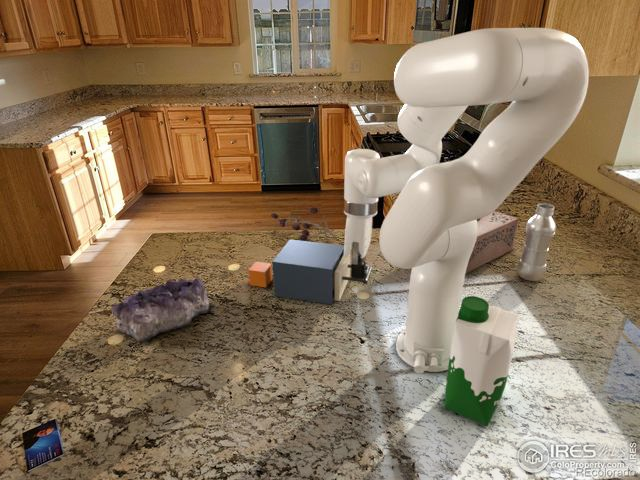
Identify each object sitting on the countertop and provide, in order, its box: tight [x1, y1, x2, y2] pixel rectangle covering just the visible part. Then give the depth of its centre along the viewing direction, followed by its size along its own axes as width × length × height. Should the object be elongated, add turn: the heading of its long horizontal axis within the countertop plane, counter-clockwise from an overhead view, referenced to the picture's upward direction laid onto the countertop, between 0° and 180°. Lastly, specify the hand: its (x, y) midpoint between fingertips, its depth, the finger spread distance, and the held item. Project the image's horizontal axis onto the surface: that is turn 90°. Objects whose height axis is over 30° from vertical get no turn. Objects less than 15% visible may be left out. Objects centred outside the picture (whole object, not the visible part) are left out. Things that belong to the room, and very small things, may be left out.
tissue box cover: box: [465, 210, 519, 275], centre depth 121 cm, size 26×14×10 cm, turn 127°
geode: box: [111, 277, 211, 343], centre depth 94 cm, size 20×12×10 cm, turn 130°
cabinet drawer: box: [333, 253, 373, 302], centre depth 104 cm, size 20×11×8 cm, turn 74°
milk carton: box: [444, 295, 519, 427], centre depth 69 cm, size 9×9×20 cm
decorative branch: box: [270, 206, 338, 243], centre depth 136 cm, size 11×9×30 cm
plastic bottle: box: [516, 203, 557, 282], centre depth 106 cm, size 6×7×20 cm
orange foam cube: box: [248, 261, 273, 288], centre depth 109 cm, size 4×4×4 cm
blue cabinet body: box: [271, 239, 344, 306], centre depth 106 cm, size 15×13×10 cm
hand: (358, 276), depth 103 cm, fingers closed
